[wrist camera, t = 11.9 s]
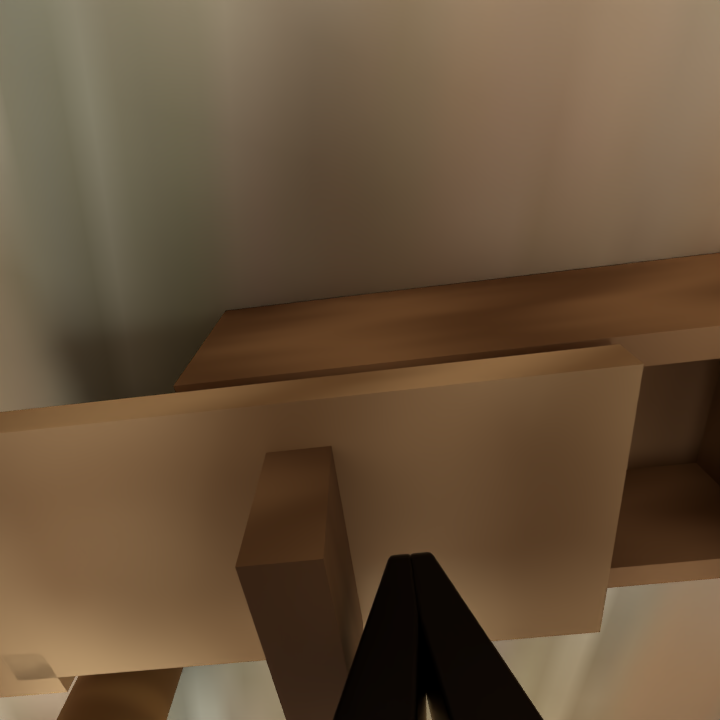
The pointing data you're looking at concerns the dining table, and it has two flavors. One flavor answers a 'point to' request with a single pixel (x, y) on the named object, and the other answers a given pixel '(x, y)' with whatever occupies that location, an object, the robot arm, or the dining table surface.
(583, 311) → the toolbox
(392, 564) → the robot arm
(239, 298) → the dining table surface
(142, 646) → the lid
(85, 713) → the key peg
